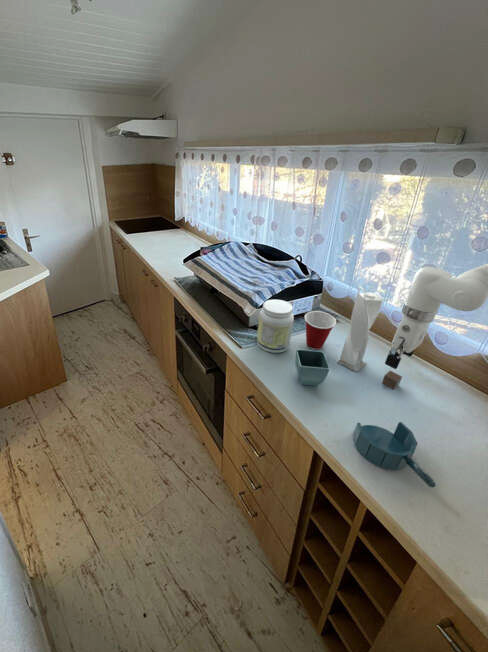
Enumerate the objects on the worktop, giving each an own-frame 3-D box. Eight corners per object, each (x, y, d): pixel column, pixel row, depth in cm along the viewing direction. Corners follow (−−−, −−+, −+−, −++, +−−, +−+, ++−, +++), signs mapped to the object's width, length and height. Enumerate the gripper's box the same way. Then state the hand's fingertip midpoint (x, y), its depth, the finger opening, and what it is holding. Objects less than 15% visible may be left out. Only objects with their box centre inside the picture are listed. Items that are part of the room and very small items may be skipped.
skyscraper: (332, 360, 108) (352, 289, 95) (343, 351, 112) (363, 282, 99) (357, 372, 102) (381, 298, 89) (367, 362, 107) (392, 290, 93)
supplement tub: (265, 332, 125) (270, 295, 117) (294, 343, 117) (301, 304, 109) (250, 345, 116) (254, 306, 108) (279, 358, 109) (286, 318, 101)
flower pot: (324, 391, 95) (330, 369, 91) (295, 388, 96) (300, 366, 92) (318, 372, 103) (324, 351, 98) (291, 370, 104) (295, 348, 100)
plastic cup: (299, 351, 113) (305, 323, 107) (299, 335, 122) (304, 309, 116) (331, 356, 110) (338, 328, 104) (328, 339, 119) (335, 313, 114)
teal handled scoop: (449, 489, 68) (459, 474, 65) (405, 505, 65) (413, 490, 62) (380, 422, 84) (386, 408, 82) (342, 432, 81) (347, 418, 79)
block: (386, 379, 99) (390, 370, 98) (398, 385, 97) (402, 376, 95) (381, 383, 98) (384, 374, 96) (393, 390, 95) (397, 381, 93)
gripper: (420, 327, 77) (398, 378, 86) (446, 308, 86) (424, 355, 95) (389, 315, 83) (371, 364, 91) (416, 298, 92) (398, 344, 100)
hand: (398, 360), depth 93 cm, fingers open, 9 cm apart
